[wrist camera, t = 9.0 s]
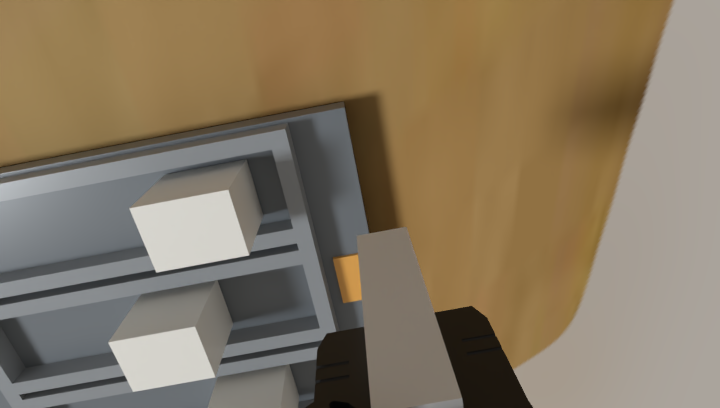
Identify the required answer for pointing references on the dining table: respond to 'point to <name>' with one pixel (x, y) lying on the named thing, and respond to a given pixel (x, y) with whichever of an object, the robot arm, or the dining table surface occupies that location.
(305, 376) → the switch board
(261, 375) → the tab
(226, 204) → the tab
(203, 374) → the tab
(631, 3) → the dining table surface
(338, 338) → the robot arm
